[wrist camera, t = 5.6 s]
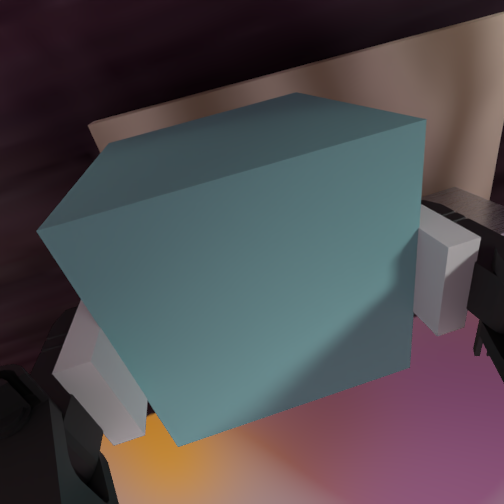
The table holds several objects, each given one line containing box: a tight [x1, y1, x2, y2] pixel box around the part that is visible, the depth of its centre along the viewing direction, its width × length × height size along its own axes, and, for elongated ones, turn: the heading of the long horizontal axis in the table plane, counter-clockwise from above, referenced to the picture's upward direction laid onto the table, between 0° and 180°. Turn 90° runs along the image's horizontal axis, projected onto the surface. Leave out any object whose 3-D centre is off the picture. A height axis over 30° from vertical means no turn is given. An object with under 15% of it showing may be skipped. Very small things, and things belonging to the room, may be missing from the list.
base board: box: [88, 12, 504, 200], centre depth 21 cm, size 24×16×2 cm, turn 103°
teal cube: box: [37, 92, 427, 447], centre depth 11 cm, size 8×8×8 cm
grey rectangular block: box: [421, 187, 504, 236], centre depth 21 cm, size 4×4×6 cm
